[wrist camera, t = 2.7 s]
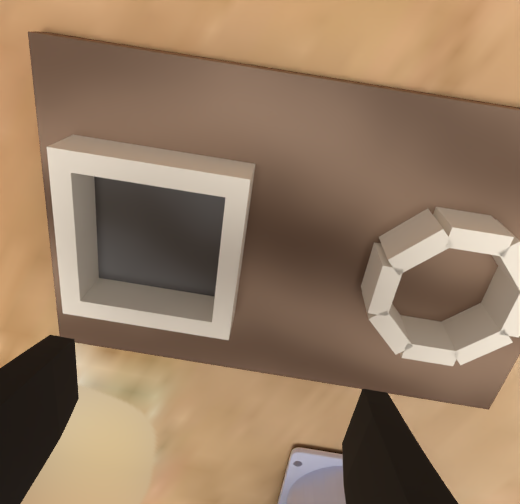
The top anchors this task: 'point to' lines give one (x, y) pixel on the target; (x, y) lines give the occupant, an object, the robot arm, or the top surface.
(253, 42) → the top surface
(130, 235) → the bore board
